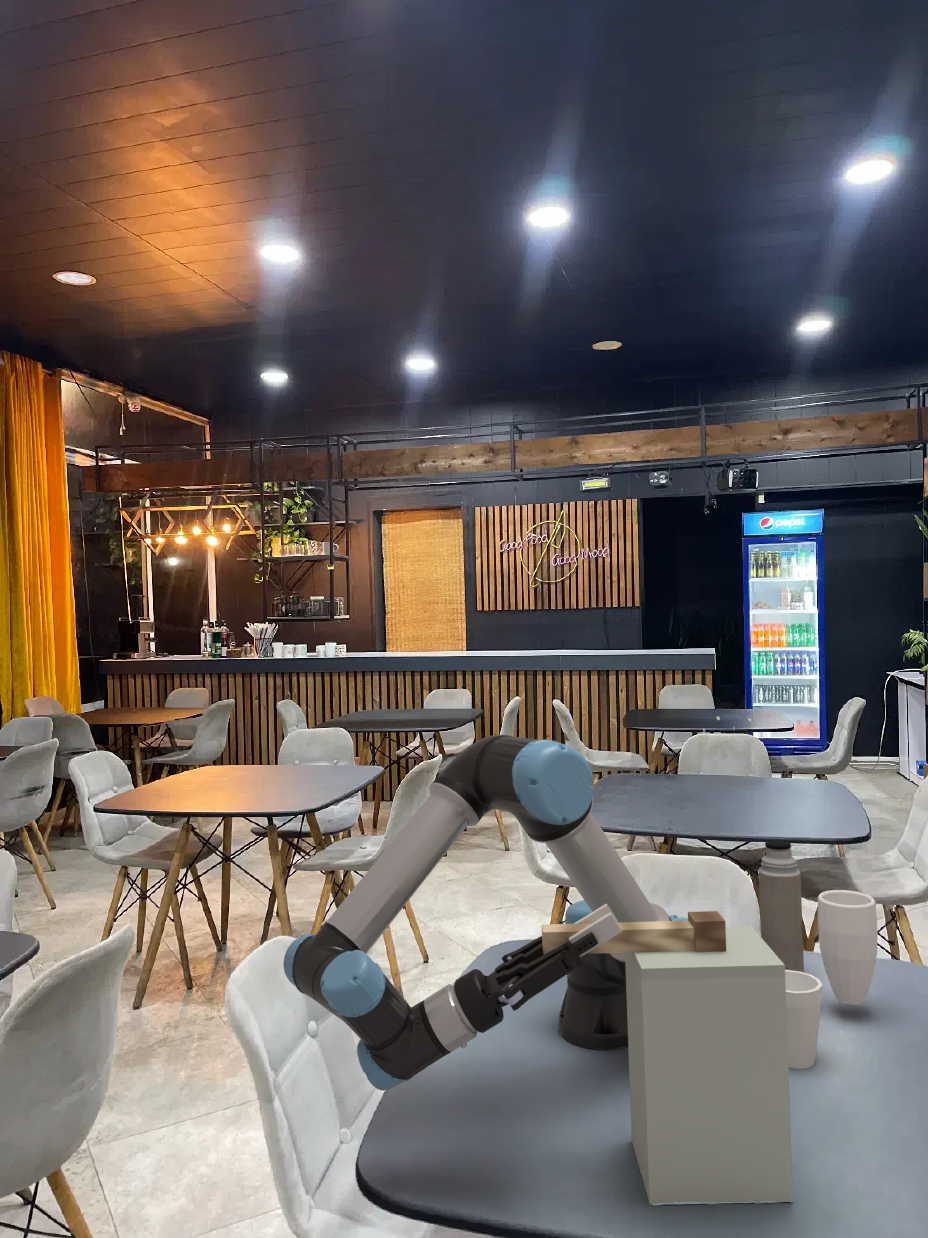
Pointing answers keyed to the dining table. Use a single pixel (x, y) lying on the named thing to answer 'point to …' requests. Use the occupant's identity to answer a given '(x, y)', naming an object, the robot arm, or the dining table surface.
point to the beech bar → (650, 935)
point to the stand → (710, 1072)
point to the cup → (848, 942)
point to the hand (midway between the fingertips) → (613, 917)
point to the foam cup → (802, 1017)
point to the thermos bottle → (781, 904)
